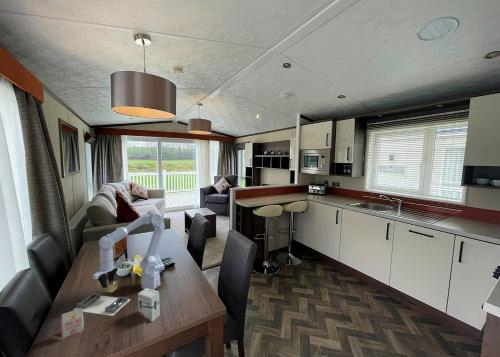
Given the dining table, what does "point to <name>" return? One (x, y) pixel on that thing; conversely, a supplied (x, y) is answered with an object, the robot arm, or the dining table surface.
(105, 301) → the board
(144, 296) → the ink box
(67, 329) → the tea bag
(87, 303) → the chain ends
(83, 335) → the dining table surface
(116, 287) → the brass block
